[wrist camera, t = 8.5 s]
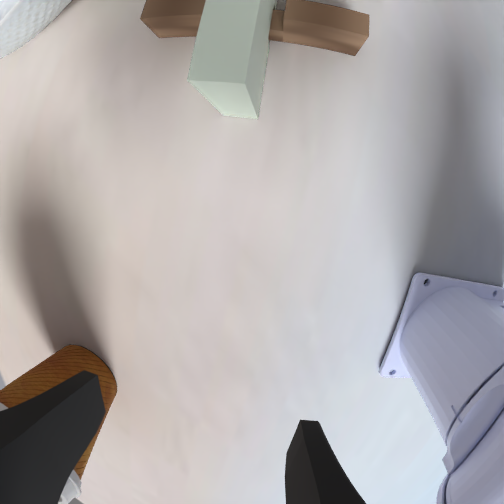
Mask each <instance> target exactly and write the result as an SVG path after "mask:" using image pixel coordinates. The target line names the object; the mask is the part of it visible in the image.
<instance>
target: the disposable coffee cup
mask: <svg viewBox="0 0 504 504" xmlns="http://www.w3.org/2000/svg"><path fill="white" fill-rule="evenodd" d="M83 370H86V371H88V372H91V373H94V374H96V375H98V378H99V383H100V388H101V393H102V397H103V402H104V406H105V410H106V413H105V415H104V418H103V420H102V422H101V424H100V427H99V429H98V431H97V433H96V434H95V436H94V438H93V439H92V441H91V442H90V444H89V446H88V447H87V449H86V450H85V452H84V453H83V455H82V457H81V458H80V460H79V461H78V463H77V464H76V466H75V468H74V469H73V471H72V473H71V474H70V476H69V478H68V480H67V482H66V485H65V487H64V489H63V491H62V494H61V496H60V499H59V502H58V504H68V503H69V502H70V501H71V500H72V499H73V498H78V497H80V495H81V489H80V487H81V481H80V480H81V477H82V475H83V472H84V469H85V467H86V464H87V462H88V459H89V457H90V454H91V451H92V449H93V446H94V444H95V441H96V439H97V436H98V434H99V432H100V429H101V428H102V424H103V423H104V420H105V418H106V415H107V413H108V411H109V408H110V406H111V404H112V402H113V399H114V397H115V396H116V393H117V385H116V381H115V378H114V376H113V375H112V373H111V371H110V370H109V368H108V367H107V366H106V365H105V363H104V362H103V361H102V360H101V359H100V358H99V357H97V356H96V355H95V354H93V353H92V352H91V351H89V350H87V349H85V348H83V347H81V346H77V345H68V346H65V347H64V348H62V349H61V350H59V351H58V352H56V353H55V354H53V355H52V356H50V357H49V358H47V359H46V360H44V361H43V362H41V363H40V364H38V365H37V366H35V367H34V368H32V369H31V370H29V371H28V372H26V373H25V374H23V375H22V376H20V377H19V378H17V379H16V380H14V381H13V382H11V383H10V384H8V385H7V386H6V387H5V388H3V389H2V390H0V411H2V410H5V409H8V408H11V407H13V406H16V405H18V404H20V403H22V402H25V401H27V400H29V399H31V398H33V397H35V396H38V395H39V394H41V393H43V392H45V391H47V390H49V389H51V388H53V387H54V386H56V385H58V384H60V383H62V382H63V381H65V380H67V379H69V378H71V377H72V376H74V375H76V374H78V373H80V372H82V371H83Z"/></svg>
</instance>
